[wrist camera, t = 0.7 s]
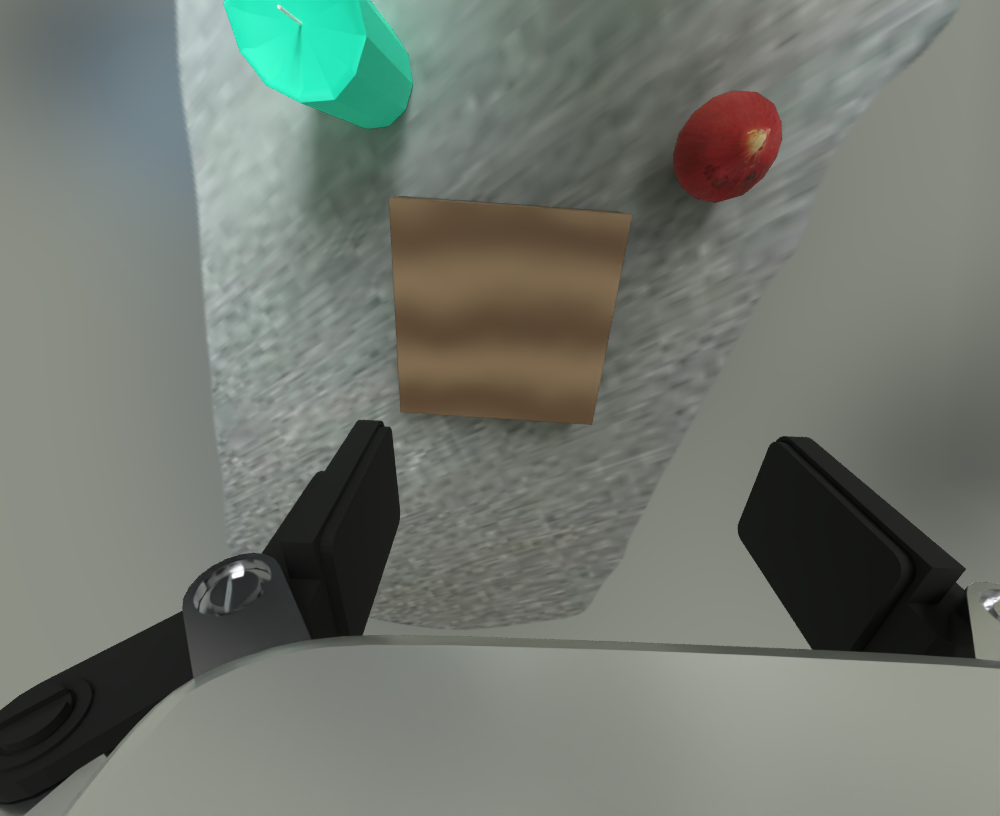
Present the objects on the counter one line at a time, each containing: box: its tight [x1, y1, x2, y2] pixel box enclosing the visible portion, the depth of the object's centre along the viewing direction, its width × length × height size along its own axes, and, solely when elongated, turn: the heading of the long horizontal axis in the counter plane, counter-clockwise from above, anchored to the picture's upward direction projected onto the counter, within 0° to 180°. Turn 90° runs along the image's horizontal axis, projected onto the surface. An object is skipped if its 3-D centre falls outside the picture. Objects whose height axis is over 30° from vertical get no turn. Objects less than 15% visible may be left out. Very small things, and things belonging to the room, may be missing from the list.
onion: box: [673, 91, 782, 203], centre depth 26 cm, size 6×6×8 cm
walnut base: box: [389, 196, 632, 425], centre depth 33 cm, size 16×16×4 cm
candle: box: [224, 0, 413, 129], centre depth 22 cm, size 6×6×12 cm
